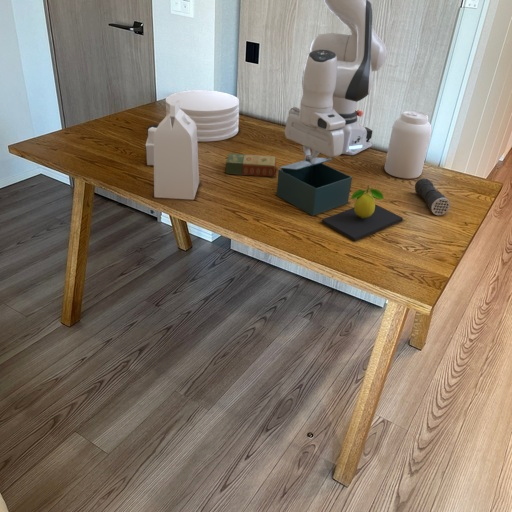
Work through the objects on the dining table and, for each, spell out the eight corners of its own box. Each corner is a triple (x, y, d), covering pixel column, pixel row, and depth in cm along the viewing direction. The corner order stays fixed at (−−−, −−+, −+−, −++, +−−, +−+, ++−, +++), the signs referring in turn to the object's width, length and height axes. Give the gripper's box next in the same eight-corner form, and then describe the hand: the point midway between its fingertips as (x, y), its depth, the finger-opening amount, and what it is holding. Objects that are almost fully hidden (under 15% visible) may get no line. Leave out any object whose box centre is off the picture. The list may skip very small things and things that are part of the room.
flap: (278, 168, 145) (278, 167, 145) (314, 158, 153) (314, 157, 152) (296, 170, 139) (296, 169, 139) (332, 159, 147) (332, 158, 147)
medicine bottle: (148, 157, 169) (146, 122, 163) (170, 157, 170) (168, 123, 163) (146, 165, 163) (144, 129, 157) (168, 165, 164) (167, 130, 157)
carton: (274, 177, 160) (275, 165, 158) (224, 173, 161) (225, 161, 159) (275, 167, 167) (276, 155, 165) (228, 163, 168) (228, 151, 166)
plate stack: (236, 143, 185) (237, 112, 179) (161, 139, 184) (159, 108, 178) (239, 120, 208) (240, 92, 202) (172, 116, 208) (171, 88, 202)
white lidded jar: (376, 171, 169) (388, 112, 158) (395, 162, 177) (407, 105, 166) (409, 182, 162) (424, 122, 151) (427, 172, 170) (442, 114, 159)
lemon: (379, 220, 137) (386, 187, 131) (363, 226, 134) (370, 192, 128) (362, 211, 141) (368, 178, 136) (346, 215, 138) (352, 182, 133)
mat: (369, 204, 147) (369, 201, 147) (402, 220, 140) (402, 217, 139) (321, 222, 136) (321, 219, 136) (354, 241, 129) (354, 238, 128)
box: (276, 195, 149) (278, 169, 145) (311, 184, 157) (314, 159, 153) (312, 215, 139) (316, 188, 135) (347, 203, 147) (352, 177, 143)
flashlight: (411, 192, 156) (415, 176, 153) (428, 192, 157) (432, 176, 154) (429, 215, 143) (434, 198, 140) (447, 215, 144) (452, 198, 141)
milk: (162, 180, 154) (157, 95, 140) (199, 182, 154) (198, 97, 140) (154, 197, 144) (148, 107, 130) (193, 199, 144) (192, 110, 130)
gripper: (281, 106, 142) (278, 152, 149) (334, 126, 128) (327, 176, 136) (298, 103, 145) (293, 148, 152) (350, 122, 132) (342, 171, 139)
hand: (309, 161), depth 144 cm, fingers closed
